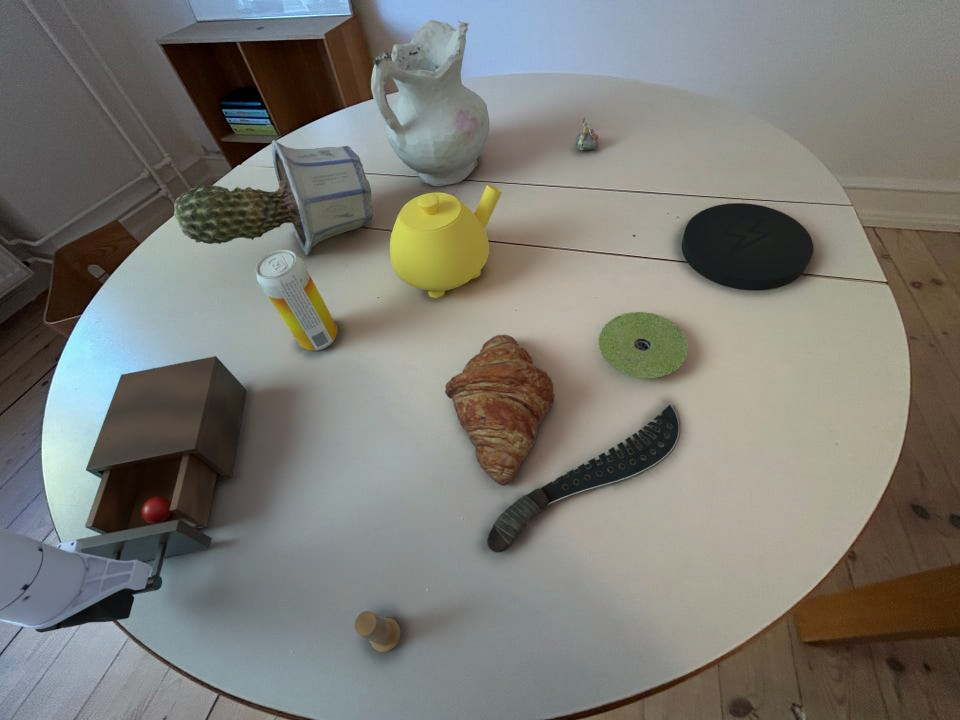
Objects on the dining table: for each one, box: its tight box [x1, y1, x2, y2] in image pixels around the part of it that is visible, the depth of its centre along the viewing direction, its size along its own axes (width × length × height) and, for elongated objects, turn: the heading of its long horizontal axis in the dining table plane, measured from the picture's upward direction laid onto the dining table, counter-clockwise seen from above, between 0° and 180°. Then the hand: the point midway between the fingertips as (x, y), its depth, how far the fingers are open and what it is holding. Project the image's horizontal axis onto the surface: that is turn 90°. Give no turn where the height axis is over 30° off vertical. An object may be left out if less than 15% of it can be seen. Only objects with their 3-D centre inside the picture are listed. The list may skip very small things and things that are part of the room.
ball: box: [141, 497, 171, 524], centre depth 56 cm, size 3×3×3 cm
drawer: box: [76, 453, 217, 596], centre depth 55 cm, size 17×11×6 cm, turn 9°
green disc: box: [598, 311, 689, 380], centre depth 65 cm, size 11×11×2 cm
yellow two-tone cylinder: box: [255, 249, 338, 352], centre depth 68 cm, size 6×6×15 cm
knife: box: [486, 404, 680, 554], centre depth 55 cm, size 28×2×5 cm
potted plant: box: [173, 139, 374, 255], centre depth 81 cm, size 18×18×30 cm
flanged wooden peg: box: [354, 610, 401, 653], centre depth 46 cm, size 3×3×7 cm
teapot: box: [389, 184, 503, 299], centre depth 75 cm, size 20×16×14 cm
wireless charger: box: [681, 202, 814, 291], centre depth 74 cm, size 18×18×2 cm
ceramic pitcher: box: [370, 19, 490, 187], centre depth 88 cm, size 22×20×25 cm
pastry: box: [444, 334, 556, 486], centre depth 60 cm, size 17×15×8 cm
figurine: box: [575, 117, 599, 151], centre depth 95 cm, size 5×4×6 cm
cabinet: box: [85, 355, 248, 482], centre depth 62 cm, size 14×13×8 cm
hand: (125, 608), depth 49 cm, fingers closed
